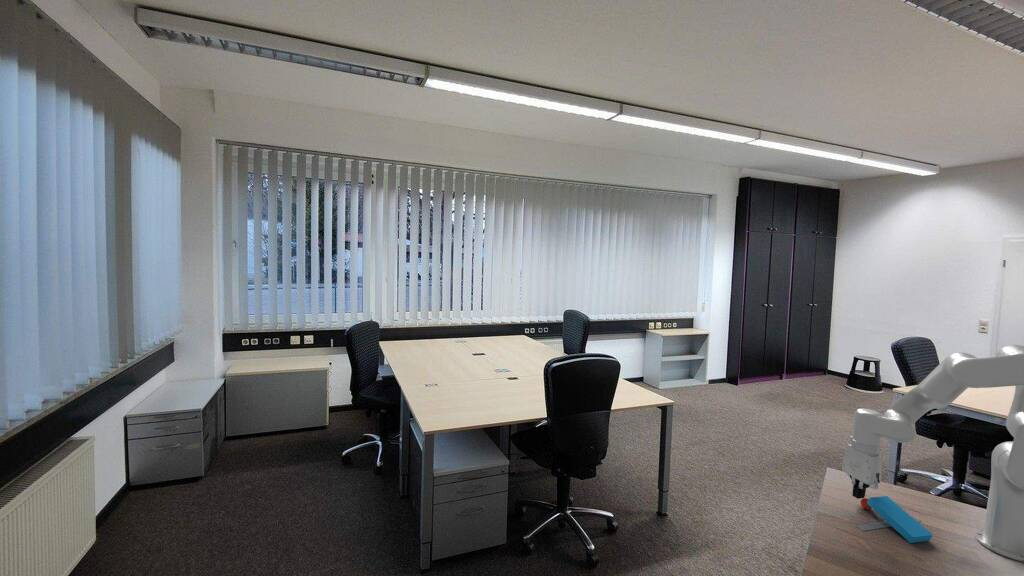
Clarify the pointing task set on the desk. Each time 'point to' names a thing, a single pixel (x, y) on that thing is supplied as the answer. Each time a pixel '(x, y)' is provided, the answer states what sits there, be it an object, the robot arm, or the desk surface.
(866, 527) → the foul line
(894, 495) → the desk surface
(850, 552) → the desk surface
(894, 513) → the lever
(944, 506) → the desk surface
